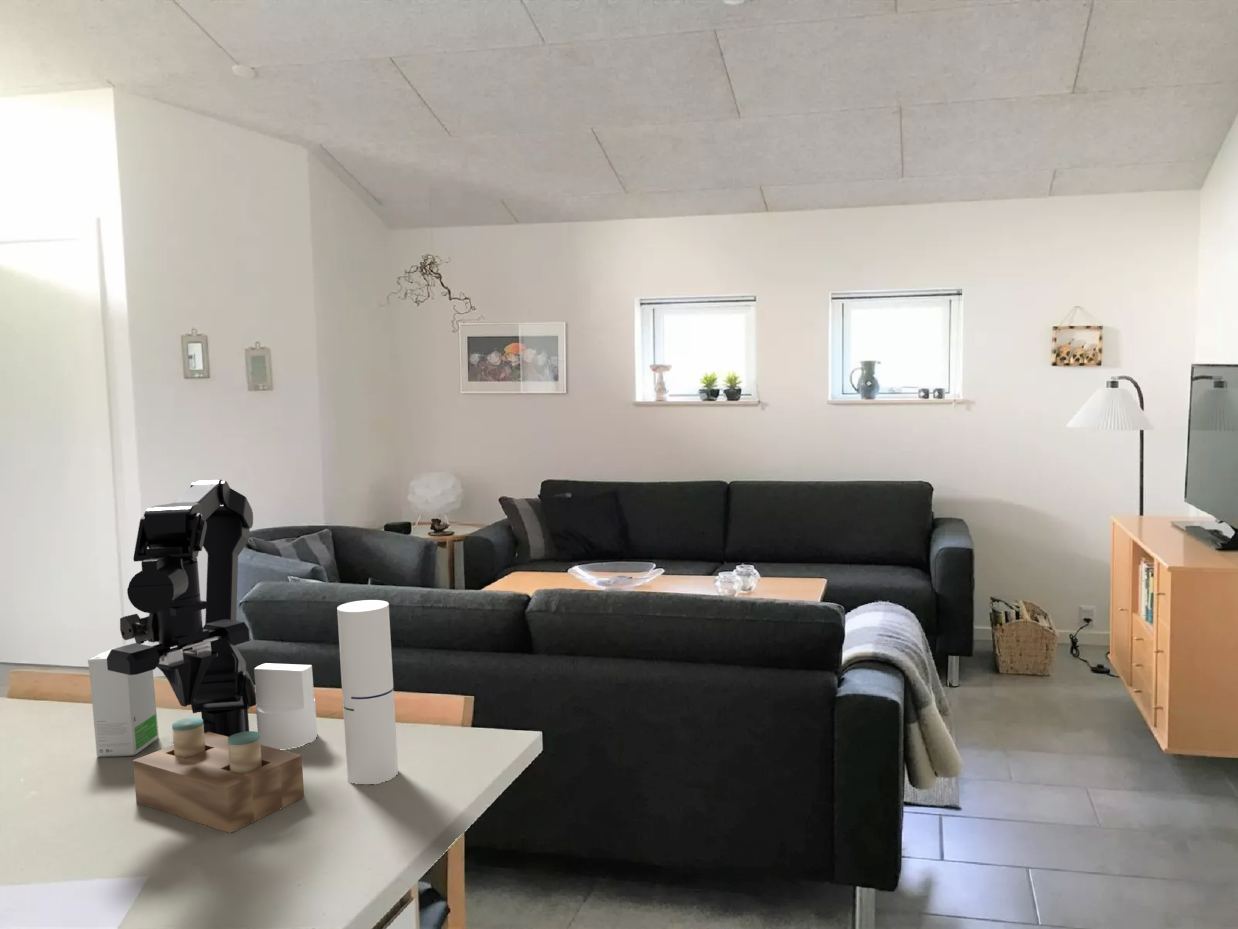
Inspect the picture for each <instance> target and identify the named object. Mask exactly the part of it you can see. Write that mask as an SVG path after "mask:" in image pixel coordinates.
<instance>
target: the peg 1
mask: <svg viewBox="0 0 1238 929" xmlns="http://www.w3.org/2000/svg"><path fill="white" fill-rule="evenodd" d="M171 727H172V728H171V729H172V730H171V731H172V740H173V745H174V756H177V757H181V758H184V759H186V758H189V757H192V756H194V755H197V754H199V753H202V752H204V751H205V739H204V726H203V719H202V717H201V718H200V717H188V718H187V717H186V718H182V719H179V720H176V721H174V722H173V723H172V725H171Z"/></svg>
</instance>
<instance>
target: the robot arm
mask: <svg viewBox="0 0 1238 929" xmlns="http://www.w3.org/2000/svg"><path fill="white" fill-rule="evenodd" d="M247 498H248V497H247V496H245V495H244V494H242V493H240V492H238V491H237V490H234V489H232V487H230V485H229V483H228V481H227V480H222V479H206V480H205V479H204V480H201V479H200V480H196V481H195V482H191V484H190V488H188V489H187V490H186V491H185V492H183V493H182V494H181V495H180V496H179V497H178V498H177V499H176V500H174V501H173V502H172V503H165V504H159V505H153V506H150V507H147V509H146V510H145V511H144V513H143V515H142V516H141V518H140V520H139V524H138V530H137V535H136V540H135V545H134V546H135V547H134V552H133V553H134V554H133V562H141V565H140V566H141V570H140V571H139V572H137V573H136V574H135V575H133V577H131V579H130V580H129V584H128V587H127V590H126V591H127V593H126V594H127V597H128V600H129V602H130V604H131V605H132V606H133V607H134V608H136V609H137V610H138V611H139V612H143V613H145V614H146V613H147V614H149V615H147V616H145V617H140V616H139V614H138V613H134V614H129V615H125V616H123V617H121V618H119V630H120V634H121V638H122V639H123V640H124V641H129V640H132V639H134V640H135V642H134V643H129V644H127V645H123V646H119V647H118V646H117V647H118V648H116V647H114V648H115V649H113V648H111V651H110V653H109V655H108V657H107V668H108V670H109V671H114V672H118V673H123V674H127V675H137V674H140V673H144V672H147V671H151V670H153V671H154V670H155V669H156V668H157V669H158V670H160V671H161V672H162V674H163V675H164V676H165V678H166V679H167V681H168V683H169V685H170V688H171V689H172V692H174V695H175V697H176V699H177V701H178V703H179V705H180V706H181V707H183V708H185V707H188V706H190V707H191V710H192V714H197V713H201V714H200V715H201V719H203V726H204V733H207V732H212V733H215V734H219V735H223V736H227V737H230V736H231V735H233V734H236V733H240V732H246V731H250V721H249V709H250V708H251V707H256V706H257V699H256V686H255V684H254V681H253V680H252V678H251V676H250V673H249V671H248V670H247V662H246V660H245V659H244V657H243V655H242V654H241V652H240V651H239V649H238V647H237V645H240V644H244V643H248V642H250V641H251V634H250V633H251V632H250V631H251V630H250V627H249V626H248V625H247V623H246V622H245V621H241V620H237V612H238V611H237V610H238V608H237V607H238V606H237V605H238V604H237V602H238V574H239V573H238V572H239V571H238V570H239V556H240V554H241V553H242V551H243V550H244V549H245V547H246V545H247V544H248V542H249V540H250V532H251V529H252V528H253V524H254V513H253V509H252V506H251V504H250V502H249V501H248V499H247ZM203 549H204V550H205V551H206V553H207V563H206V564H207V565H206V566H207V568H206V571H207V572H206V593H205V595H206V597H205V600H201V591H200V590H201V588H200V574H199V573H200V572H199V563H198V562H199V561H198V556H199V553H200V552H202V551H203ZM202 610H205V618H204V619H205V622H204V623H205V624H204V625H203V612H202ZM145 642H149V643H153V644H154V643H157V644H154V645H149V644H148V645H147V644H144V643H145Z"/></svg>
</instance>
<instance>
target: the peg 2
mask: <svg viewBox="0 0 1238 929" xmlns="http://www.w3.org/2000/svg"><path fill="white" fill-rule="evenodd" d="M228 749H229V763H230V771H231V772H234V773H238V774H241V775H243V774H246V773H248V772H250V771H253V770H255V769H257V768H260V767H262V761H261V747H260V734H259V733H258V731H251V730H249V731H246V732H240V733H236V734H233V735H231V736H230V737H229V738H228Z"/></svg>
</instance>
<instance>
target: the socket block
mask: <svg viewBox="0 0 1238 929" xmlns="http://www.w3.org/2000/svg"><path fill="white" fill-rule="evenodd" d="M228 738H229V737H227V736H223V735H219V734H215V733H212V732H207V733H204V739H205V751H204V752H202V753H199V754H197V755H194V756H192V757H189V758H186V759H184V758H181V757H177V756H174V744H173V745H170V746H167V747H164V748H162V749H159V750H156V751H153V752H151V753H149V754H146V755H144V756H141V757H137V758H136V759H133V760H132V766H133V768H132V769H133V776H134V790H135V801H136V803H137V804H141V805H144V806H147V807H150V808H153V809H155V810H157V811H158V810H159V811H162V812H165V813H167V814H171V815H174V816H177V817H180V818H183V819H186V820H189V821H192V822H195V821H196V823H199V824H201V825H205V826H207V825H208V827H210V828H214V829H216V828H217V829H216V830H220V831H222V832H225V833H228V832H230V833H229V834H231V832H232V831H234V832H235V830H236V831H237V829H238V830H240V829H242V828H244V827H245V825H246V826H247V825H250V824H252V823H253V822H252V821H254V822H257V821H258V820H260V819H262V817H263V818H264V816H265V817H266V815H267V816H269V815H271V814H273V813H274V811H275V812H277V811H280V810H281V809H283V808H286V807H287V806H289V805H291V804H293V803H295V801H296V802H298V801H300V800H302V799H303V797H304V798H305V788H304V773H303V769H304V768H303V758H302V757H303V756H302V754H298V753H294V752H290V751H287V750H279V749H275V748H271V747H267V746H263V745H260V747H261V761H262V767H260V768H257V769H255V770H253V771H250V772H248V773H246V774H243V775H241V774H238V773H234V772H231V771H230V763H229V749H228ZM301 798H302V799H301ZM280 808H281V809H280ZM259 818H260V819H259ZM251 822H252V823H251ZM239 828H240V829H239ZM226 831H227V832H226ZM232 833H233V832H232Z"/></svg>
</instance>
